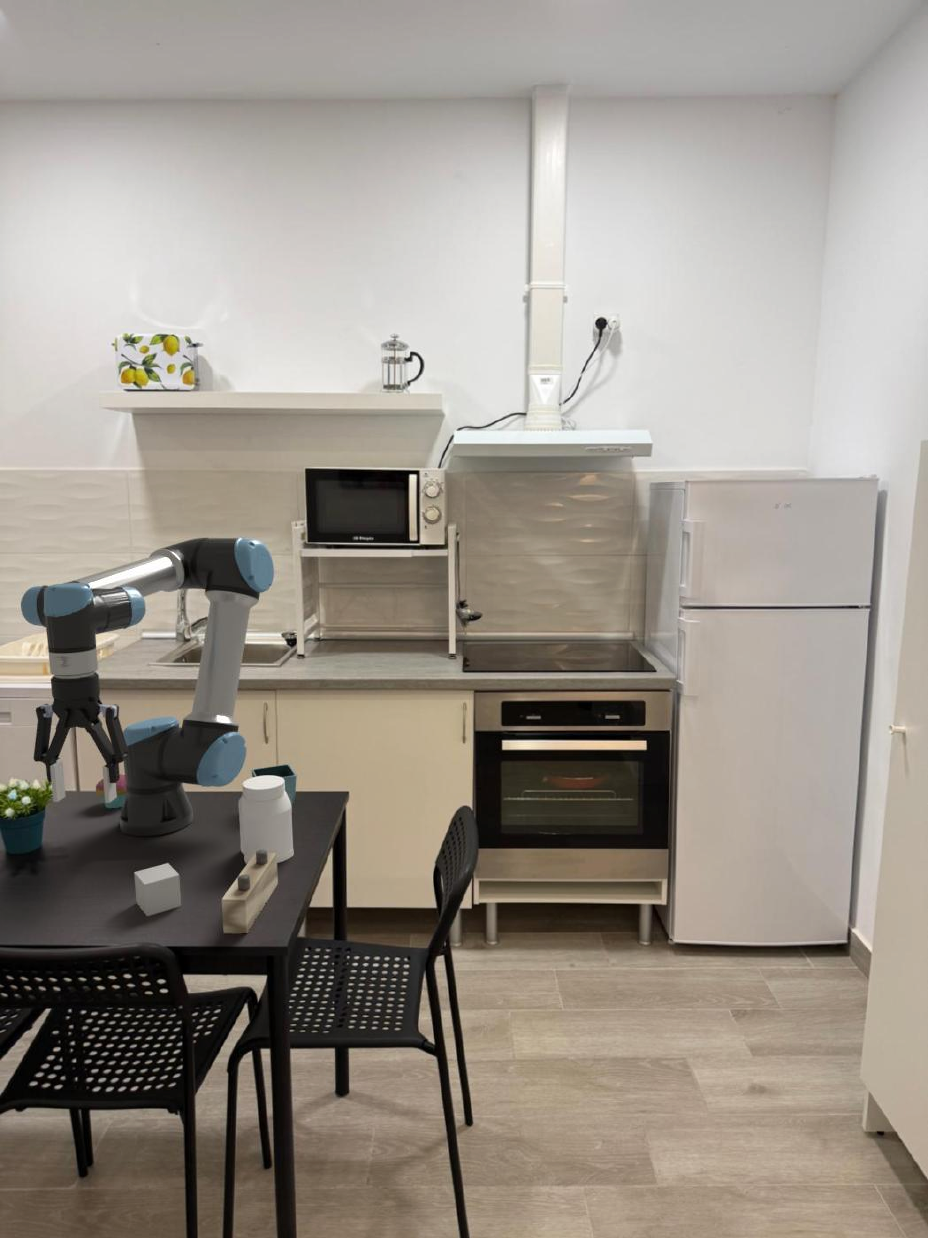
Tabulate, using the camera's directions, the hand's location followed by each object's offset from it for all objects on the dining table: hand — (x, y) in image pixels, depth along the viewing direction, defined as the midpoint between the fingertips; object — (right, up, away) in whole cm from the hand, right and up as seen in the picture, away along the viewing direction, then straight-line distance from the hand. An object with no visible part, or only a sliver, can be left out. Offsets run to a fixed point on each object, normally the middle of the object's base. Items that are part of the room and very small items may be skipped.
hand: (85, 799), depth 151 cm
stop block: (+29, -19, +1) cm, 35 cm away
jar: (+27, -16, +23) cm, 39 cm away
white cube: (+12, -19, +2) cm, 23 cm away
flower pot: (+23, -12, +46) cm, 53 cm away
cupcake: (-15, -12, +50) cm, 53 cm away
